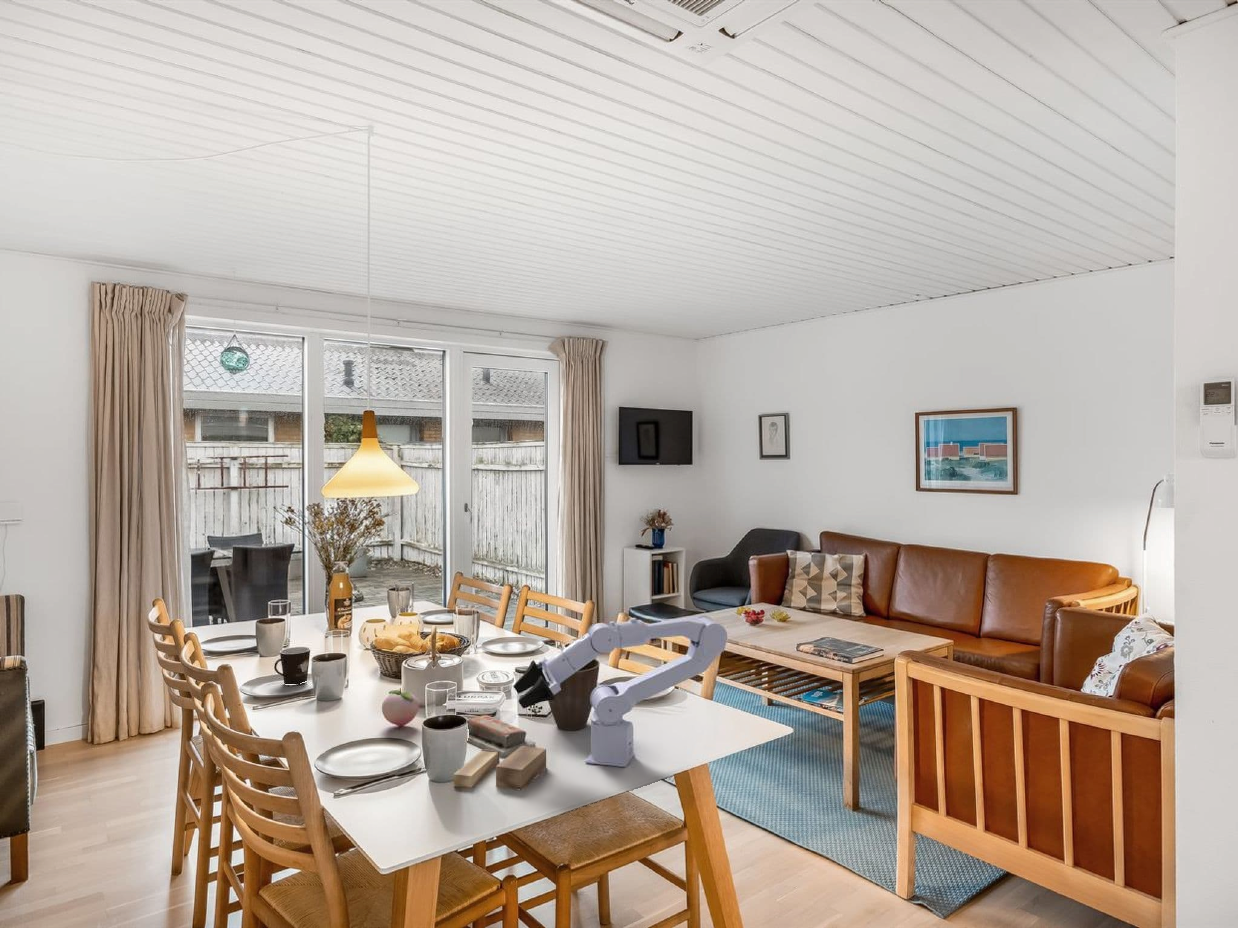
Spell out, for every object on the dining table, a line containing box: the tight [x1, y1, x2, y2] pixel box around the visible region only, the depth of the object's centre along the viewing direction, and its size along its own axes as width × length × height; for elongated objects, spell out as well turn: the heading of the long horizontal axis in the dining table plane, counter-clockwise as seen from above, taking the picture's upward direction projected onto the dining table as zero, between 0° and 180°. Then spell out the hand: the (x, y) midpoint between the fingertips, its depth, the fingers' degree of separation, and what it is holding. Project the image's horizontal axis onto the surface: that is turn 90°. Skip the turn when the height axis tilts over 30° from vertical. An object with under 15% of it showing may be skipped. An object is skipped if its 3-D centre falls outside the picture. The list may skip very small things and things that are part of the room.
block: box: [495, 746, 547, 791], centre depth 166 cm, size 6×12×4 cm, turn 161°
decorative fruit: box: [381, 687, 420, 728], centre depth 197 cm, size 9×8×10 cm
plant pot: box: [546, 658, 601, 732], centre depth 197 cm, size 15×15×16 cm
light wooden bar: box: [453, 748, 500, 789], centre depth 168 cm, size 4×14×3 cm, turn 164°
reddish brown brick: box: [466, 714, 537, 758], centre depth 186 cm, size 18×5×10 cm
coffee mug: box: [273, 646, 311, 684], centre depth 235 cm, size 12×9×10 cm
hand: (518, 697), depth 172 cm, fingers open, 7 cm apart
